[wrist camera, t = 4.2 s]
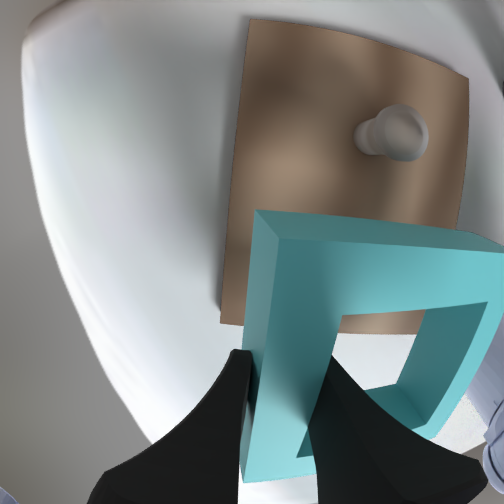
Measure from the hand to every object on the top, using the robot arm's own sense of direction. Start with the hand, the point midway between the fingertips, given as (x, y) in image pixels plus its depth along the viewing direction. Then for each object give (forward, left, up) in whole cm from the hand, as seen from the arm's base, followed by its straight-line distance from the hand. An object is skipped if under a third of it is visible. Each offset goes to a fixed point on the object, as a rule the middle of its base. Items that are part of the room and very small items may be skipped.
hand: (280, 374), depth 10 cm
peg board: (-5, -6, -9) cm, 12 cm away
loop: (-4, 0, -3) cm, 5 cm away
